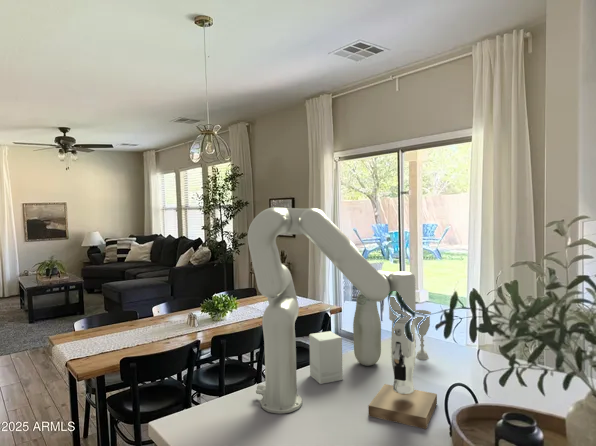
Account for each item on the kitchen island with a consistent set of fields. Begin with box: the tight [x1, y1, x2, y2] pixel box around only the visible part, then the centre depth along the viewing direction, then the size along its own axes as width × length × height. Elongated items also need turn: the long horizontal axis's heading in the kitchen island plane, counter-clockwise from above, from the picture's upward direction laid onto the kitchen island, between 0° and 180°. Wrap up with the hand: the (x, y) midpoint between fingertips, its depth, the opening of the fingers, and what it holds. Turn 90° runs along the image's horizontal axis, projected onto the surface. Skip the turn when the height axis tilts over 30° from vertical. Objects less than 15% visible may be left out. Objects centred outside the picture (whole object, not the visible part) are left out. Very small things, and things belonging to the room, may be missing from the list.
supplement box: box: [308, 330, 344, 385], centre depth 144 cm, size 9×9×15 cm
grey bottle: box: [352, 291, 382, 367], centre depth 155 cm, size 10×10×28 cm
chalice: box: [414, 309, 432, 361], centre depth 161 cm, size 7×7×18 cm
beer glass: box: [390, 338, 416, 395], centre depth 120 cm, size 7×7×15 cm
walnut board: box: [367, 383, 438, 430], centre depth 120 cm, size 16×16×3 cm
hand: (403, 374), depth 120 cm, fingers closed on beer glass, 6 cm apart
